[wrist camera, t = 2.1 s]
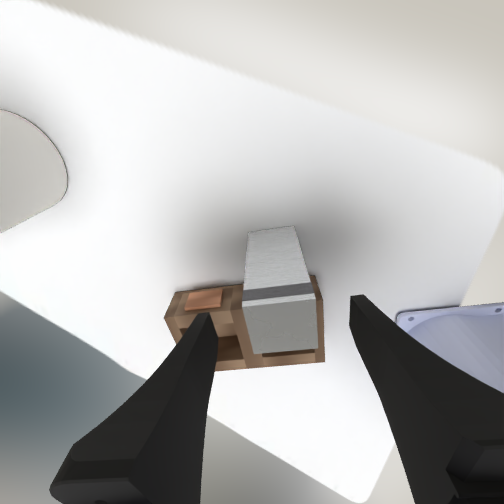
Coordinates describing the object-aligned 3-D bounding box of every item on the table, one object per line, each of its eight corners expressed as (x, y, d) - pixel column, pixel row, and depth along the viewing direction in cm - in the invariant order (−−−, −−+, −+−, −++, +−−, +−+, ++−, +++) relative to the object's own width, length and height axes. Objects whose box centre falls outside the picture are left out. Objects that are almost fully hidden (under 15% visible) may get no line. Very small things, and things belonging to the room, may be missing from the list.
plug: (294, 225, 18) (316, 298, 11) (297, 264, 20) (318, 348, 13) (248, 232, 18) (241, 306, 12) (255, 269, 20) (253, 354, 13)
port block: (314, 272, 20) (322, 297, 17) (317, 334, 24) (324, 362, 21) (174, 289, 21) (162, 314, 19) (197, 345, 25) (190, 373, 22)
